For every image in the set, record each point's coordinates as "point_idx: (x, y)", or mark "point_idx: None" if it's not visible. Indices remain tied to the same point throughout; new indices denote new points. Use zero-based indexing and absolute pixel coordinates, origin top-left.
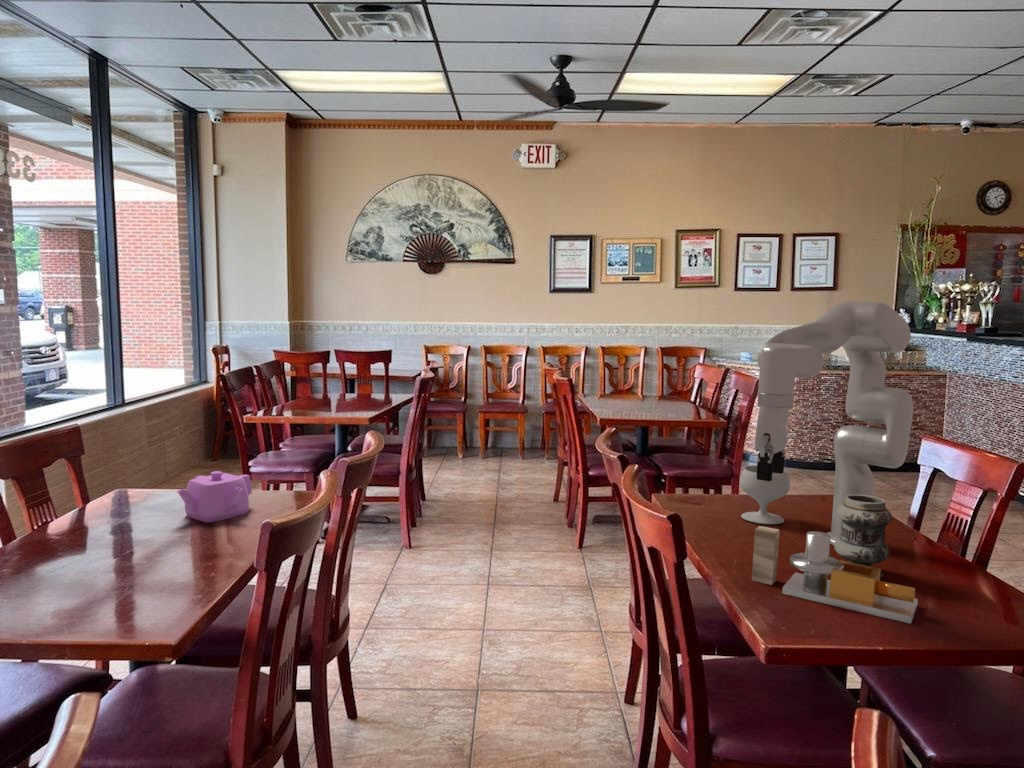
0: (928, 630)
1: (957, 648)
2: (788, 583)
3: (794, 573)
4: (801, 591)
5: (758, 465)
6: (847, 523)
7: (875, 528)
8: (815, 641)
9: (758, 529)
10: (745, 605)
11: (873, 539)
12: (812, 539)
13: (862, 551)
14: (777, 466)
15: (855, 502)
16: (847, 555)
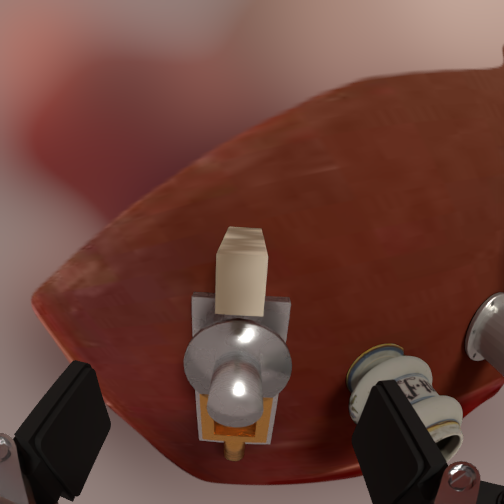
0: (194, 443)
1: (166, 455)
2: None
3: (284, 302)
4: (192, 327)
5: (32, 422)
6: None
7: None
8: (69, 347)
9: (226, 263)
10: (105, 247)
11: None
12: (208, 397)
13: (354, 411)
14: (370, 448)
15: None
16: (356, 385)
